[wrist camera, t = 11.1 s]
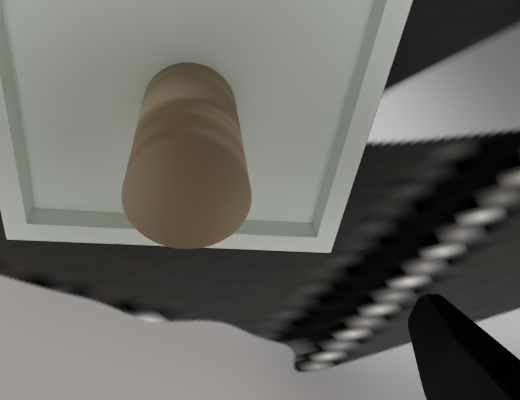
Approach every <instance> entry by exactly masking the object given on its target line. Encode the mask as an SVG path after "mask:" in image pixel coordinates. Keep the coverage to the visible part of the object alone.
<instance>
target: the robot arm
mask: <svg viewBox="0 0 520 400" xmlns="http://www.w3.org/2000/svg"><path fill="white" fill-rule="evenodd" d="M408 328H409V332H410V337H411V341H412V345H413V349H414V353H415V357H416V362H417V365H418V370H419V374H420V379H421V382H422V386H423V390H424V393H425V396H426V399H427V400H520V360H519V359H518V358H517V357H516V356H514V355H513V354H512V353H511V352H509V351H508V350H507V349H506V348H504V347H503V346H502V345H501V344H500V343H499V342H497V341H496V340H495V339H494V338H493V337H491V336H490V335H489V334H488V333H486V332H485V331H484V330H483V329H482V328H480V327H479V326H478V325H477V324H476V323H474V322H473V321H472V320H471V319H469V318H468V317H467V316H466V315H465V314H463V313H462V312H461V311H460V310H459V309H457V308H456V307H455V306H454V305H452V304H451V303H450V302H449V301H448V300H446V299H445V298H444V297H443V296H441V295H439V294H422V295H420V296H419V298H418V300H417V302H416V304H415V306H414V308H413V310H412V312H411V314H410V316H409V319H408Z"/></svg>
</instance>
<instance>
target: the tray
mask: <svg viewBox="0 0 520 400" xmlns="http://www.w3.org/2000/svg"><path fill="white" fill-rule="evenodd" d="M412 1H413V0H0V211H1V215H2V220H3V225H4V229H5V234H6V239H8V240H32V241H56V242H81V243H105V244H129V245H153V246H164V245H161V244H158V243H156V242H153V241H152V240H150V239H148V238H146V237H145V236H144V235H142V234H141V233H140V232H139V231H137V230H136V229H135V228H134V226H133V225H132V224H131V223H130V221H129V220H128V218H127V216H126V214H125V212H124V209H123V205H122V198H121V194H122V187H123V182H124V178H125V174H126V170H127V166H128V161H129V157H130V153H131V149H132V144H133V140H134V136H135V132H136V127H137V123H138V119H139V115H140V111H141V106H142V102H143V98H144V94H145V90H146V88H147V86H148V84H149V82H150V81H151V80H152V78H153V77H154V76H155V75H156V74H157V73H158V72H160V71H161V70H163V69H164V68H166V67H168V66H171V65H174V64H178V63H186V62H188V63H198V64H202V65H205V66H207V67H210V68H212V69H213V70H215V71H217V72H218V73H219V74H220V75H222V76H223V77H224V79H225V80H226V81H227V82H228V84H229V85H230V87H231V89H232V91H233V93H234V97H235V101H236V107H237V113H238V118H239V124H240V130H241V135H242V141H243V147H244V153H245V158H246V164H247V170H248V175H249V181H250V187H251V195H252V200H251V207H250V210H249V213H248V215H247V218H246V219H245V221H244V222H243V224H242V225H241V226H240V228H239V229H238V230H237V231H236V232H234V233H233V234H232V235H231V236H229V237H228V238H226V239H224V240H223V241H221V242H219V243H216V244H214V245H211V246H207V247H203V248H225V249H249V250H274V251H298V252H322V253H331V250H332V247H333V244H334V241H335V238H336V235H337V231H338V228H339V225H340V222H341V219H342V216H343V213H344V210H345V207H346V204H347V201H348V198H349V195H350V192H351V189H352V185H353V182H354V179H355V176H356V173H357V170H358V167H359V164H360V161H361V158H362V155H363V152H364V149H365V146H366V142H367V139H368V136H369V133H370V130H371V127H372V124H373V121H374V118H375V115H376V112H377V109H378V106H379V103H380V100H381V96H382V93H383V90H384V87H385V84H386V81H387V78H388V75H389V72H390V69H391V66H392V63H393V60H394V57H395V54H396V50H397V47H398V44H399V41H400V38H401V35H402V32H403V29H404V26H405V23H406V20H407V17H408V14H409V11H410V7H411V4H412Z"/></svg>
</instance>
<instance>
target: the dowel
mask: <svg viewBox="0 0 520 400" xmlns="http://www.w3.org/2000/svg"><path fill="white" fill-rule="evenodd" d="M121 198H122V205H123V209H124V212H125V214H126V216H127V218H128V220H129V221H130V223H131V224H132V225H133V226H134V228H135V229H136V230H137V231H139V232H140V233H141V234H142V235H144V236H145V237H146V238H148V239H150V240H152V241H153V242H156V243H158V244H161V245H164V246H167V247H172V248H178V249H196V248H203V247H207V246H211V245H214V244H216V243H219V242H221V241H223V240H224V239H226V238H228V237H229V236H231V235H232V234H233V233H234V232H236V231H237V230H238V229H239V228H240V226H241V225H242V224H243V222H244V221H245V219H246V218H247V215H248V213H249V210H250V207H251V200H252V195H251V187H250V181H249V175H248V170H247V164H246V158H245V153H244V147H243V141H242V135H241V130H240V124H239V118H238V113H237V107H236V101H235V97H234V93H233V91H232V89H231V87H230V85H229V84H228V82H227V81H226V80H225V79H224V77H223V76H222V75H220V74H219V73H218V72H217V71H215V70H213V69H212V68H210V67H207V66H205V65H202V64H198V63H188V62H186V63H178V64H174V65H171V66H168V67H166V68H164V69H163V70H161V71H160V72H158V73H157V74H156V75H155V76H154V77H153V78H152V80H151V81H150V82H149V84H148V86H147V88H146V90H145V94H144V98H143V102H142V106H141V111H140V115H139V119H138V123H137V127H136V132H135V136H134V140H133V144H132V149H131V153H130V157H129V161H128V166H127V170H126V174H125V178H124V182H123V187H122V194H121Z"/></svg>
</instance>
